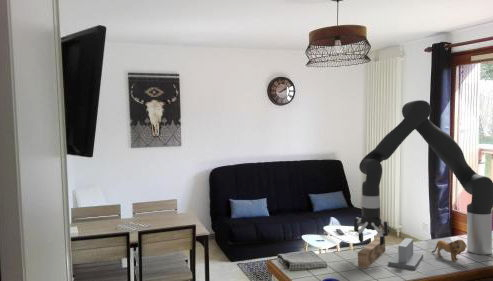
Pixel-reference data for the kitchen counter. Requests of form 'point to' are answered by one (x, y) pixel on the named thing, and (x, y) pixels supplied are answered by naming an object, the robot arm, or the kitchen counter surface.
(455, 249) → the lion figurine
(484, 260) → the kitchen counter surface
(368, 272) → the kitchen counter surface
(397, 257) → the ridge stand
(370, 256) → the walnut bar
